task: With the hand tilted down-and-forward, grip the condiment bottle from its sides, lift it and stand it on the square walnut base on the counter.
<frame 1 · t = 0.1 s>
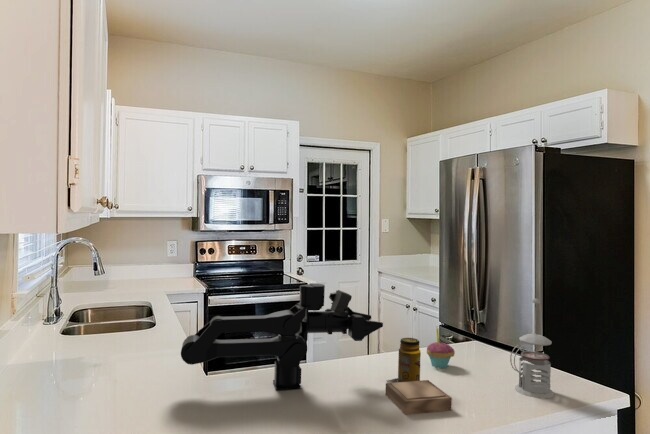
hand: (376, 320, 128), 17 cm above the worktop, tool horizontal, fingers open, 9 cm apart
french press: (531, 391, 122), on the worktop
cupcake: (440, 366, 142), on the worktop
walnut base: (417, 402, 112), on the worktop
condiment: (406, 383, 126), on the worktop
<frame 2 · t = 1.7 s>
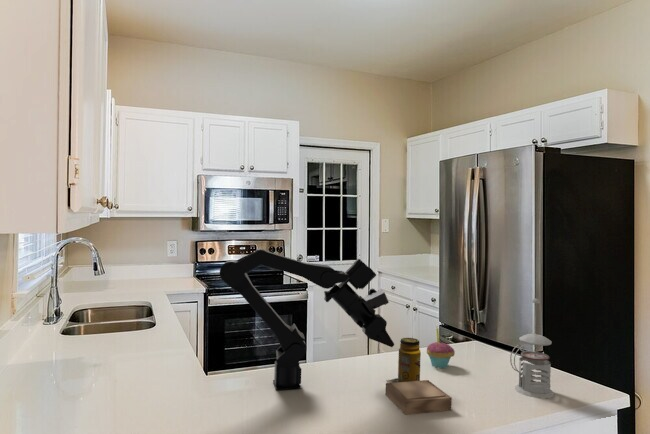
hand: (388, 341, 125), 12 cm above the worktop, tool tilted 45°, fingers open, 9 cm apart
nothing on the worktop moved.
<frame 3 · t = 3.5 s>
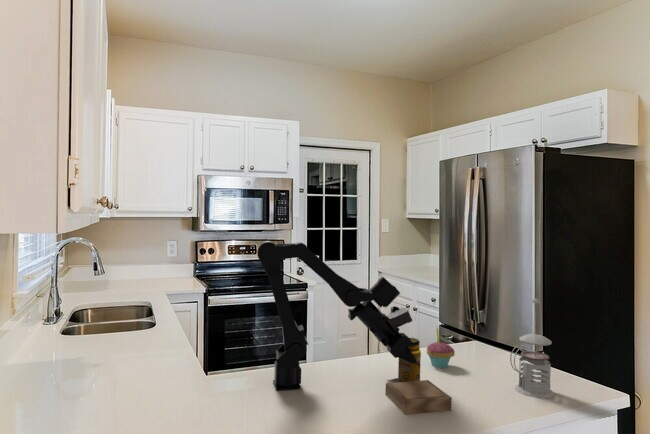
hand: (411, 358, 126), 7 cm above the worktop, tool tilted 45°, fingers closed on condiment, 6 cm apart
condiment: (406, 383, 126), on the worktop, touching gripper
everything else where it was.
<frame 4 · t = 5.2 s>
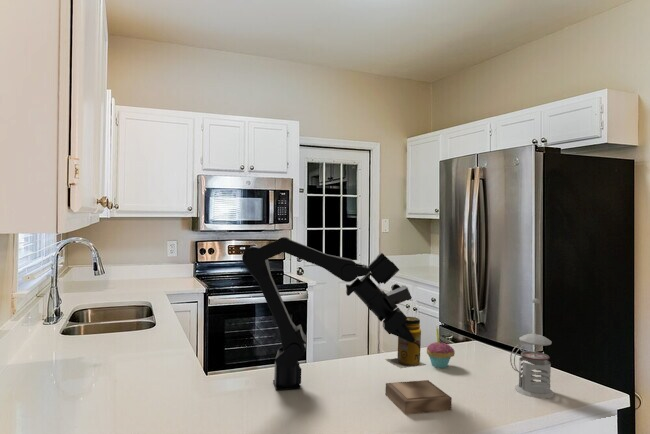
hand: (411, 338, 122), 13 cm above the worktop, tool tilted 45°, fingers closed on condiment, 6 cm apart
condiment: (405, 363, 122), point 7 cm above the worktop, touching gripper
everything else where it was.
when the fingers open (10 cm above the worktop, at t = 6.8 s): condiment stays where it is, resting on walnut base.
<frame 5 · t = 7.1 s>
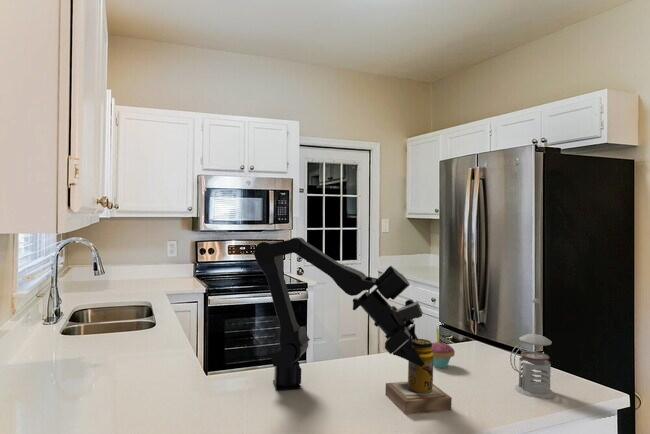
hand: (423, 359, 112), 11 cm above the worktop, tool tilted 45°, fingers open, 9 cm apart
condiment: (416, 390, 112), point 3 cm above the worktop, touching walnut base
everything else where it was.
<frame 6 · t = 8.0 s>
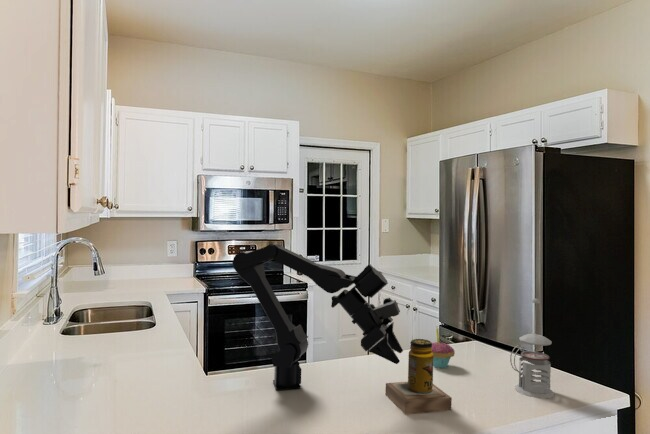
hand: (400, 357, 114), 11 cm above the worktop, tool tilted 45°, fingers open, 9 cm apart
nothing on the worktop moved.
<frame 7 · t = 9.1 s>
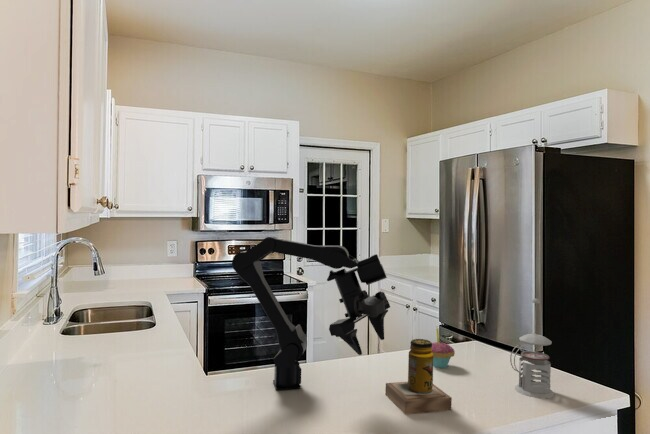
hand: (371, 346, 119), 12 cm above the worktop, tool tilted 20°, fingers open, 9 cm apart
nothing on the worktop moved.
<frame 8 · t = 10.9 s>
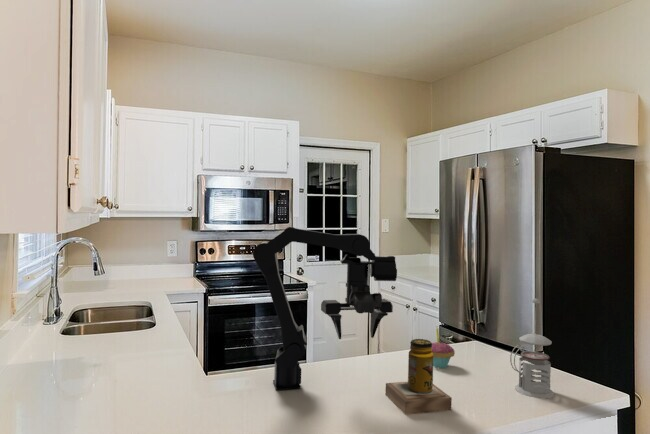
hand: (356, 338, 122), 13 cm above the worktop, tool pointing down, fingers open, 9 cm apart
nothing on the worktop moved.
at the end: condiment inside the target area on the walnut base (0.3 cm from its centre), point 3.0 cm above the walnut base's base; condiment tilted 0°; the gripper is holding nothing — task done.
